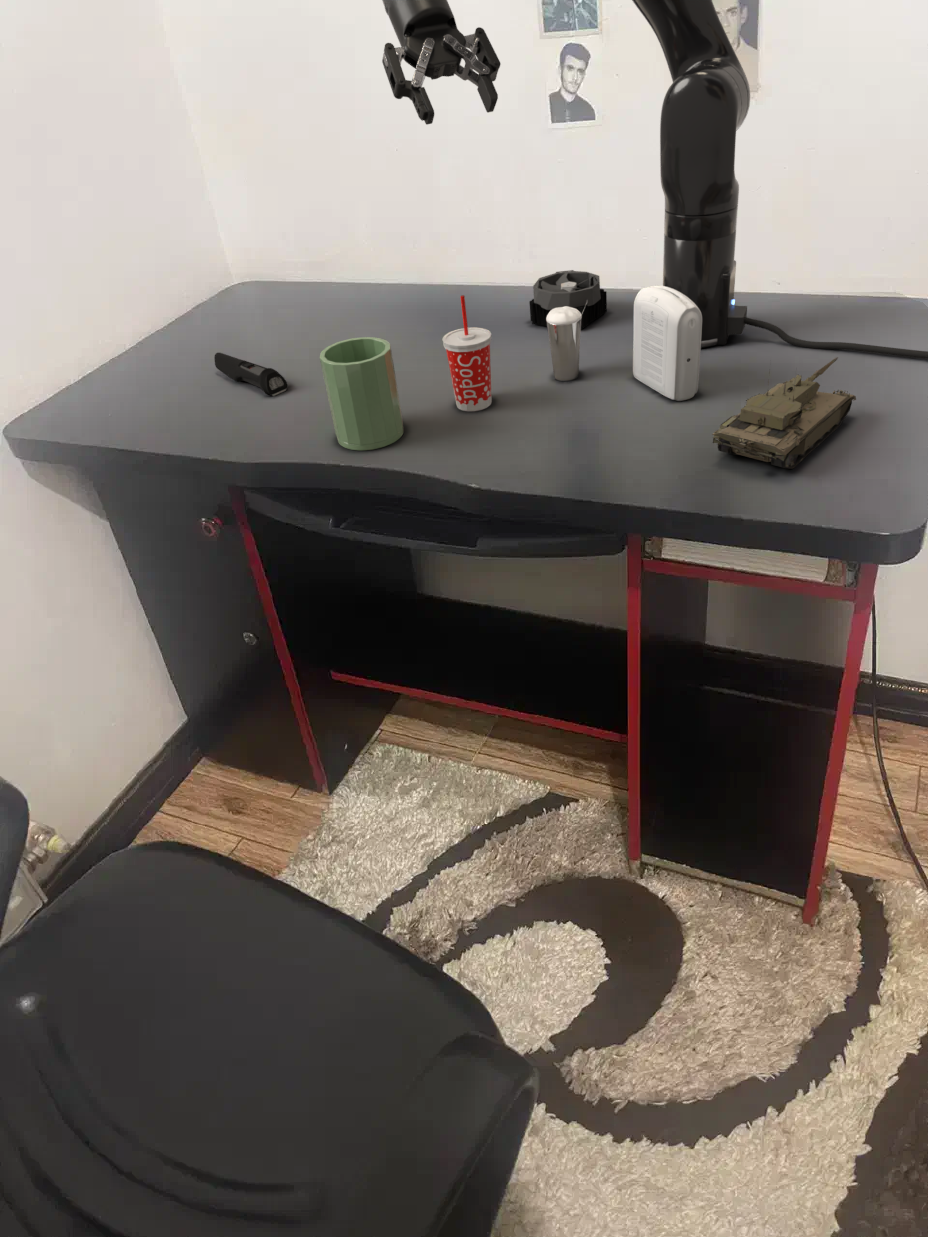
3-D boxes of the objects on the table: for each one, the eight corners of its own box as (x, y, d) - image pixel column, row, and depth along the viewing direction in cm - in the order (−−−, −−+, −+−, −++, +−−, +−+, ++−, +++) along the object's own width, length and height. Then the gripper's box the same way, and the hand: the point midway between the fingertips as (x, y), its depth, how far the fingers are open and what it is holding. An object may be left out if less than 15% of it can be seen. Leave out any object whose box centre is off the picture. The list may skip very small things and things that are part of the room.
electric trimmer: (233, 367, 140) (227, 346, 138) (291, 388, 130) (285, 367, 128) (212, 375, 138) (206, 355, 136) (269, 398, 128) (263, 376, 126)
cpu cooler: (579, 295, 131) (519, 288, 136) (580, 334, 134) (522, 325, 139) (614, 272, 137) (555, 266, 142) (614, 310, 140) (557, 303, 146)
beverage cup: (443, 412, 118) (429, 304, 110) (461, 392, 122) (448, 286, 114) (487, 415, 116) (476, 305, 107) (504, 395, 120) (494, 287, 112)
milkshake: (587, 382, 120) (585, 307, 114) (547, 383, 122) (543, 308, 116) (590, 368, 124) (589, 294, 118) (551, 369, 125) (547, 296, 119)
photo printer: (703, 395, 114) (709, 295, 106) (674, 404, 113) (678, 304, 105) (655, 369, 121) (657, 274, 114) (628, 378, 120) (628, 282, 113)
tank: (702, 467, 100) (707, 380, 94) (798, 390, 112) (807, 309, 106) (777, 488, 95) (787, 398, 89) (868, 404, 107) (882, 320, 101)
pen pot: (414, 422, 117) (401, 338, 110) (387, 452, 111) (371, 365, 104) (355, 418, 120) (339, 335, 113) (326, 448, 114) (307, 363, 107)
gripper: (366, -14, 111) (414, 101, 110) (472, -31, 115) (520, 81, 114) (360, 35, 119) (405, 144, 117) (459, 18, 122) (504, 124, 121)
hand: (462, 113), depth 115 cm, fingers open, 8 cm apart
